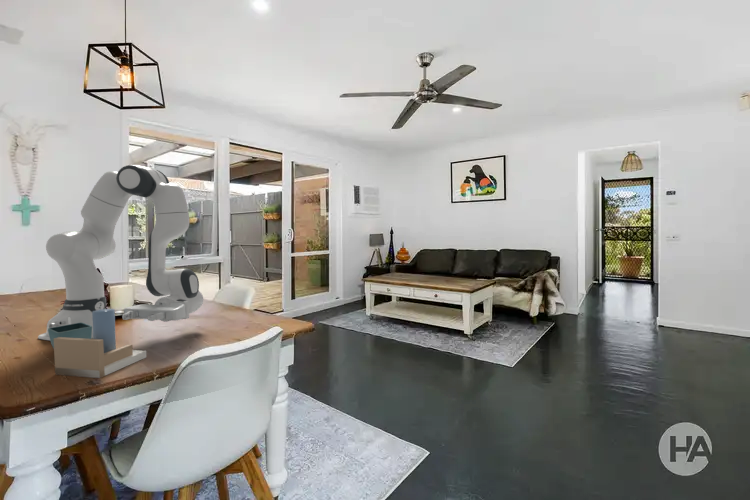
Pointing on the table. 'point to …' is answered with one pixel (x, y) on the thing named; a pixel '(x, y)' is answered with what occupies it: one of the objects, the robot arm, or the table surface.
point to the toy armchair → (91, 357)
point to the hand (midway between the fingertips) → (136, 317)
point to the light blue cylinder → (105, 328)
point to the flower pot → (70, 331)
